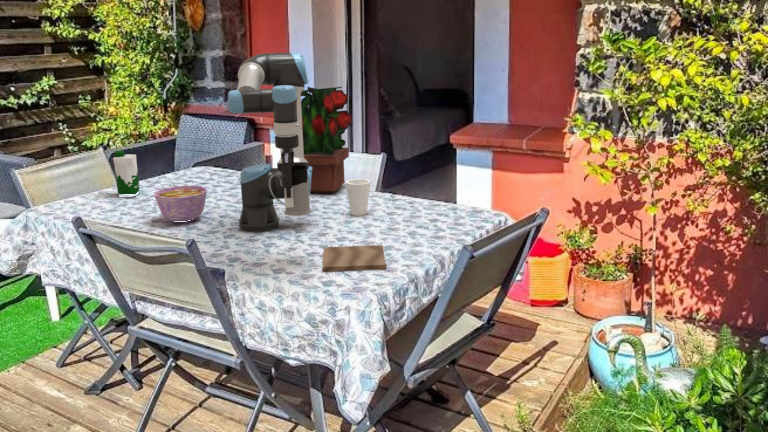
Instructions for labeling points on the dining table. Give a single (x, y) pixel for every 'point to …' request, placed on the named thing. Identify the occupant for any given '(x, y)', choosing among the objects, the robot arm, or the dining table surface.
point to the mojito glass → (126, 173)
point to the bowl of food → (181, 202)
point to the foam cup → (358, 196)
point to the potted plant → (325, 137)
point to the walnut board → (353, 258)
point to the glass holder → (297, 191)
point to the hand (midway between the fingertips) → (290, 203)
